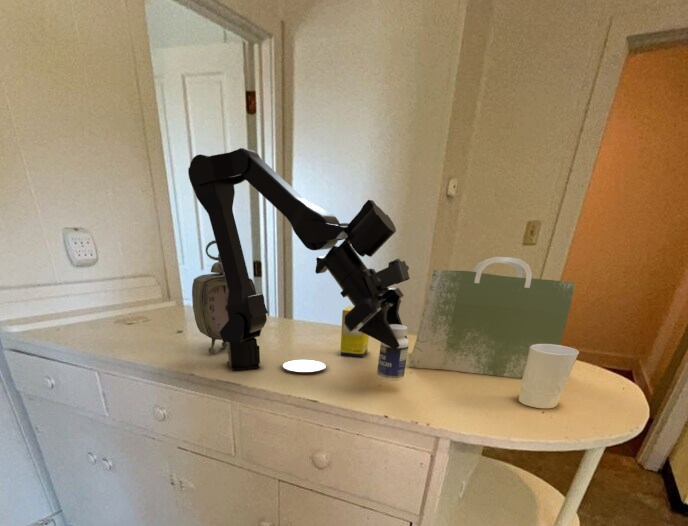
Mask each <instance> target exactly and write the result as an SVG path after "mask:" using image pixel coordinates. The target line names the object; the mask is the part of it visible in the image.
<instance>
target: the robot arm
mask: <svg viewBox="0 0 688 526" xmlns="http://www.w3.org/2000/svg"><path fill="white" fill-rule="evenodd" d="M187 170H188V171H187V172H188V179H189V182H190V184H191V187H192V189H193V192H194V195H195V197H196V199H197V201H198V202H199V203H200V204H201V206H202V207H203V209H204V210H205V212H206V213H207V215H208V218H209V222H210V226H211V229H212V233H213V236H214V237H213V238H214V240H215V241H216V243H215V244H216V248H217V252H218V254H219V256H220V259H221V263H222V267H223V271H224V274H225V278H226V282H227V286H228V289H229V297H228V304H227V312H228V319H229V321H228V322H227V323H226V324H225V326H224V327H223V328H222V329H221V331H220V335H221V338H222V340H221V341H222V342H227V347H226V348H227V357H228V360H227V361H226V364H227V366H229V368H230V369H231V370H232V371H235V372H236V371H245V370H253V369H254V370H255V369H260V368H261V365H260V364H261V357H260V356H261V354H260V345H259V344H258V341H257V338H259V337H260V336H261V333H262V329H264V327H265V325H266V323H267V320H268V319H267V314H269V311H268V309H267V307H266V303H265V296H264V294H263V293H258V294H257V292H256V293H255V291H254V290H253V289H252V287H251V284H250V280H249V278H250V275H249V272H248V267H247V263H246V259H245V255H244V251H243V248H242V244H241V239H240V235H239V231H238V226H237V224H236V219H235V215H234V209H233V206H234V200H235V192H236V190H235V186H236V185H239V184H242V183H243V182H245V181H246V182H248V184H250V185H251V186H252V187H253V188H254V189H255V190H256V191H257V192H258V193H260V195H262V197H264V199H266V200H267V201H268V202H269V203H270V204H271V205H272V206H273V207H274V208H275V209H277V211H279V212H280V214H282V215H283V216H284V217H285V218H286V220H287V221H288V222H289V223H290V225H291V227H292V230H293V231H294V234H295V235H296V237H298V239H299V240H300V242H301V243H302V244H303V246H304V247H305V248H306V249H308V250H310V251H321V250H322V251H323V250H328V251H327V252H326V254H325V255H324V256H317V257H316V259H315V260H316V265H315V271H314V272H315V274H317V275H319V274H325V273H326V272H327V271H328V272H329V273H330V275H331V276H332V278H333V279H334V280H335V281H336V283H337V284H338V286H339V287H340V289H341V292H340V295H341V297H342V298H346V297H347V298H348V300H349V301H350V302H351V304H352V305H353V307H354V308H353V309H352V310H351V311H349V312H348V313H347V314H346V315H345V320H344V324H345V325H346V327H347V328H348V330H349V331H350V332H352V331H354V330H355V329H357V328H358V327H357V326H358V325H359V324H360V323H361V322H362V324H363V326H362V327H361V328H360V329H359V330H358V331H359V332H362V333H365V334H367V335H369V337H371V338H373V339H375V340H377V341H379V342H380V343H381V342H382V343H384V344H386V345H388V346H389V347H391V348H393V349H397V348H398V347H399V346H400V345H399V343H398V341H397V339H396V337H395V335H394V333H393V331H392V329H391V327H390V325H391V324H398V325H403V323H402V320H401V317H400V313H399V311H400V305H401V303H402V298H403V297H404V294H403V292H402V291H401V289H400V288H399V287H394V286H393V285H398V284H400V283H404V282H406V281H408V280H410V279H411V278H410V274H409V269H410V267H409V266H408V265H407V263H406V260H401V259H400V258H395V259H394V260H391V261H388V265H387V266H388V267H385V268H383V269H381V270H378V271H376V270H375V269H374V268H372V267H370V268H368V267H367V266H366V264H365V263H364V262H363V260H362V259H361V257H362V258H364V257H365V256H368V257H370V258H372V257H373V256H374V255H375V254H376V253H377V252H378V250H380V249H381V247H383V245H384V244H386V242H387V241H388V240H389V239H390V238H391V237H392V236H393V235H394V234H395V233H396V232H397V228H396V226H395V224H394V222H393V220H392V219H391V217H390V216H389V215H388V214H386V213H385V212H384V211H383V210H382V208H380V207H379V206H378V205H377V204H376V203H375V201H374V200H373V199H368V200H367V201H366V202H365V203H364V204H363V205H362V207H361V208H360V210H359V211H358V213H357V214H356V215H355V216H354V217H353V218H352V219H351V221H350V222H349V223H348V222H346V223H345V222H340V220H339V219H338V218H337V217H336V216H335V215H334V214H332V213H330V212H329V211H327V210H326V209H323V208H322V207H320V206H318V205H316V204H314V203H312V202H310V201H309V200H307V199H305V198H304V197H303V196H302V195H301V194H300V193H298V191H296V190H295V189H294V187H292V186H291V185H290V184H289V183H288V182H287V181H286V180H285V179H283V178H282V176H281V175H279V174H278V173H277V171H275V170H274V169H273V168H272V167H271V166H270V165H269V164H268V163H267V162H265V161H264V160H263V159H262V158H261V156H260V154H259V153H258V152H256V151H255V150H252V149H248V148H243V147H240V148H238V149H235V150H232V151H229V152H224V153H219V154H212V155H205V154H196V155H195V156H194V157H193V158H192V159H191V161H190V164H189V167H188V169H187ZM339 241H342V242H341V243H340V244H339V245H338V246H337V244H338V242H339ZM391 286H393V287H391ZM405 338H406V339H408V337H407V335H406V336H405Z"/></svg>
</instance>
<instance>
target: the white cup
mask: <svg viewBox="0 0 688 526" xmlns="http://www.w3.org/2000/svg"><path fill="white" fill-rule="evenodd" d="M579 354H580V351H579V350H577V349H576V348H574V347H570V346H567V345H561V344H560V345H554V344H535V345H531V346H530V349H529V353H528V357H527V361H526V366H525V370H524V374H523V378H521V384H520V389H519V394H518V402H520V403H521V404H522V405H525V406H528V407H531V408H536V409H552V408H553V409H554V408H555V407H557V406H558V404H559V401H560V399H561V396H562V393H563V392H564V390H565V387H566V384H567V383H568V380H569V379H570V377H571V374H572V371H573V369H574V366H575V364H576V361H577V359H578V356H579Z"/></svg>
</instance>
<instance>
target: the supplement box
mask: <svg viewBox="0 0 688 526" xmlns="http://www.w3.org/2000/svg"><path fill="white" fill-rule="evenodd" d="M353 308H354V306H347V307H346V308H343V309H342V313H341V315H342V316H341V335H340V356H347V357H348V356H349V357H359V358H364V356H365V355H366V354H367V353H368V349H369V337H370V336H369V335H367V334H365V333H362V332H359V331H358V330H359V329H360V328H361V327H362V326H363V324H362V322H361V323H360V324H359V325H358V326H357V327H358V328H357V329H355V330H354V331H352V332H350V331H349V330H348V328H347V327H346V325H345V324H344V320H345V315H346V314H347V313H348V312H349V311H351V310H352V309H353Z"/></svg>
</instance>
